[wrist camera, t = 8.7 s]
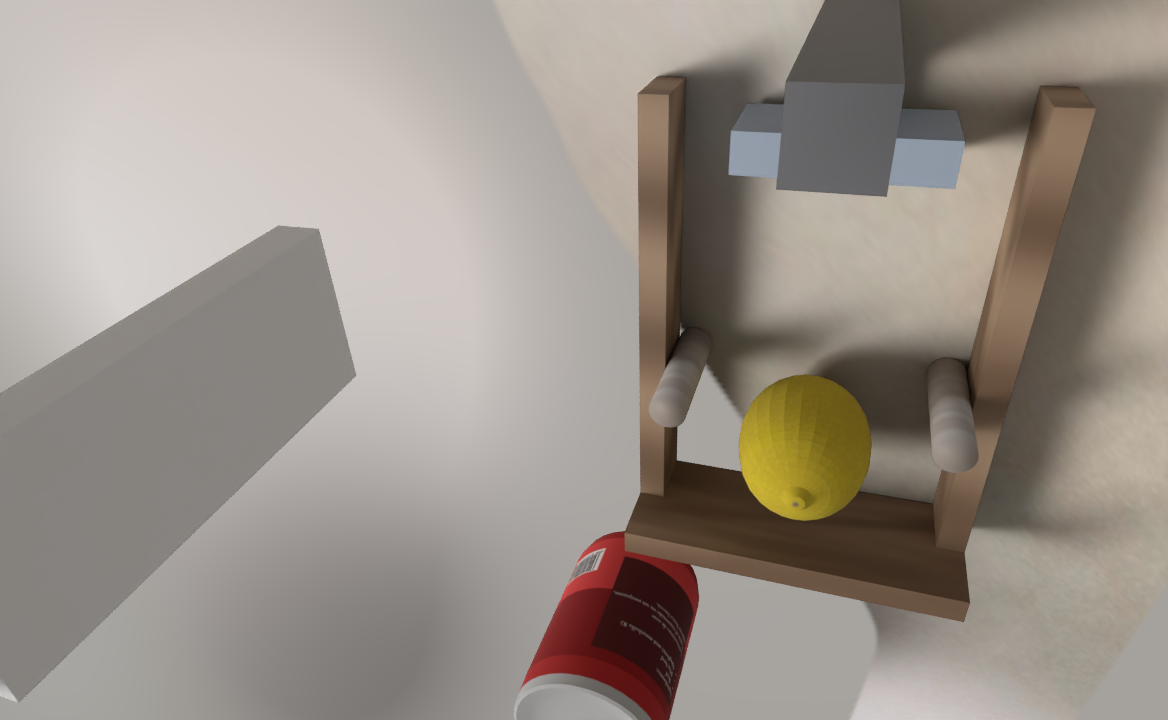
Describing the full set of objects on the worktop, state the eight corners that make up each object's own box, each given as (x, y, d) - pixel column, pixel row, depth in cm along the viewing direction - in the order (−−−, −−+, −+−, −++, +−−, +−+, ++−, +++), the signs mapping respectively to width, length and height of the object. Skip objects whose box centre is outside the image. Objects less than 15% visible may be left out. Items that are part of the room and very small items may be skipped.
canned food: (580, 603, 51) (514, 759, 42) (580, 513, 46) (508, 665, 37) (696, 635, 49) (653, 806, 40) (708, 544, 44) (663, 712, 35)
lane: (656, 76, 32) (615, 114, 27) (1078, 87, 27) (1118, 134, 22) (654, 473, 43) (624, 550, 38) (954, 527, 38) (963, 622, 34)
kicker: (754, -5, 29) (666, 78, 17) (980, -7, 26) (1047, 88, 15) (744, 143, 31) (664, 297, 20) (948, 153, 29) (983, 332, 18)
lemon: (774, 328, 36) (751, 428, 29) (892, 369, 35) (895, 481, 29) (736, 417, 39) (708, 525, 33) (843, 456, 38) (836, 575, 32)
